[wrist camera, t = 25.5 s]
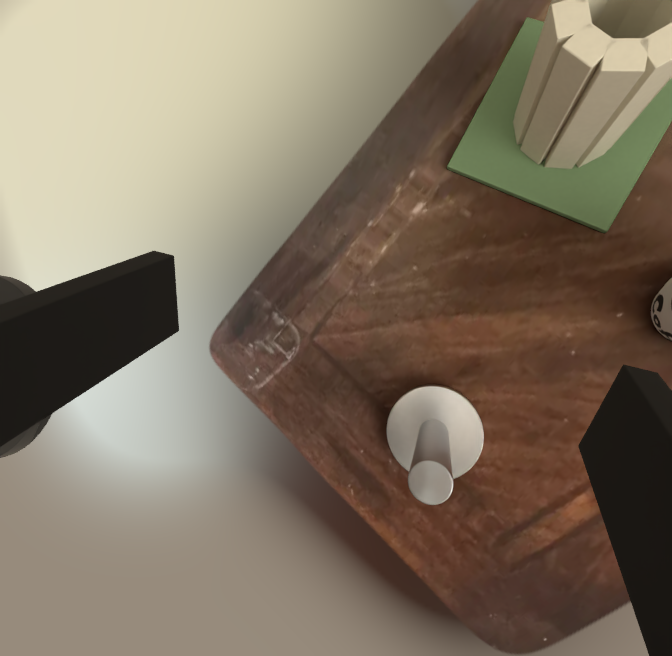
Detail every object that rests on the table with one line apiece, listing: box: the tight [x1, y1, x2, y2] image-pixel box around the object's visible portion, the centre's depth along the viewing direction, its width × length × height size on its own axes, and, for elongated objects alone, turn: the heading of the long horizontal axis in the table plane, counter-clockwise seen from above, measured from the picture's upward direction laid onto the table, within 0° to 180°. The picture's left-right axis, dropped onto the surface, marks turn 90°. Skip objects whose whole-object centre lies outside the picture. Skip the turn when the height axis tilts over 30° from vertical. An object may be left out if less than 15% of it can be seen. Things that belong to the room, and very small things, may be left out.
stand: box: [386, 384, 484, 505], centre depth 28 cm, size 8×8×14 cm
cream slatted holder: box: [513, 0, 672, 169], centre depth 27 cm, size 8×8×12 cm
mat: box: [447, 17, 672, 233], centre depth 33 cm, size 14×14×1 cm
